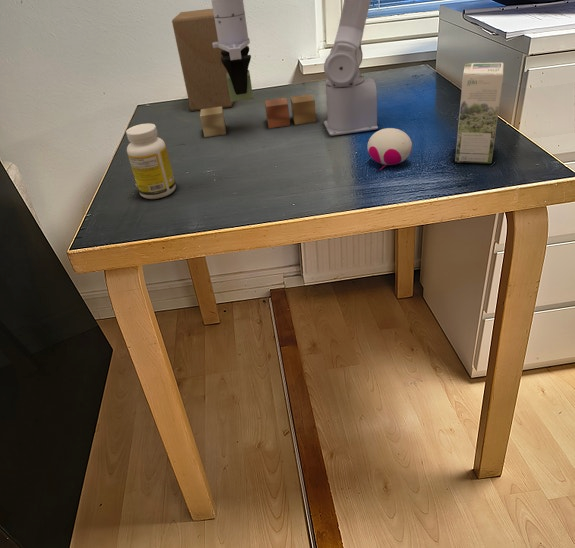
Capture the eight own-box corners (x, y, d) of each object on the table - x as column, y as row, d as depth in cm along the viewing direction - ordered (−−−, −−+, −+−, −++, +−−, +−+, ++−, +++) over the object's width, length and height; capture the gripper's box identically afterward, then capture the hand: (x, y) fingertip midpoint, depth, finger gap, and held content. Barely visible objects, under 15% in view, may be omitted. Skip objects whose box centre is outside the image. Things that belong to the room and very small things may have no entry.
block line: (313, 115, 112) (311, 93, 109) (316, 121, 108) (314, 100, 105) (204, 130, 111) (200, 109, 109) (204, 137, 107) (200, 115, 105)
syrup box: (492, 150, 87) (504, 60, 79) (491, 165, 83) (504, 71, 74) (457, 149, 89) (465, 61, 81) (454, 163, 85) (462, 71, 76)
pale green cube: (252, 92, 106) (248, 69, 103) (253, 98, 102) (250, 75, 100) (230, 95, 106) (226, 72, 103) (230, 102, 102) (226, 78, 99)
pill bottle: (161, 181, 91) (144, 119, 85) (183, 188, 88) (168, 124, 81) (132, 195, 88) (113, 132, 81) (155, 203, 84) (136, 138, 78)
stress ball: (365, 181, 90) (352, 159, 85) (382, 142, 92) (370, 119, 86) (405, 187, 86) (394, 165, 81) (422, 147, 88) (413, 122, 82)
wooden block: (232, 107, 122) (216, 14, 111) (190, 111, 123) (171, 19, 111) (236, 95, 130) (222, 7, 119) (197, 99, 131) (179, 11, 119)
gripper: (208, 12, 101) (220, 83, 109) (207, 24, 89) (221, 103, 97) (244, 7, 101) (254, 78, 109) (247, 19, 90) (258, 98, 97)
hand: (240, 90), depth 103 cm, fingers closed on pale green cube, 4 cm apart
